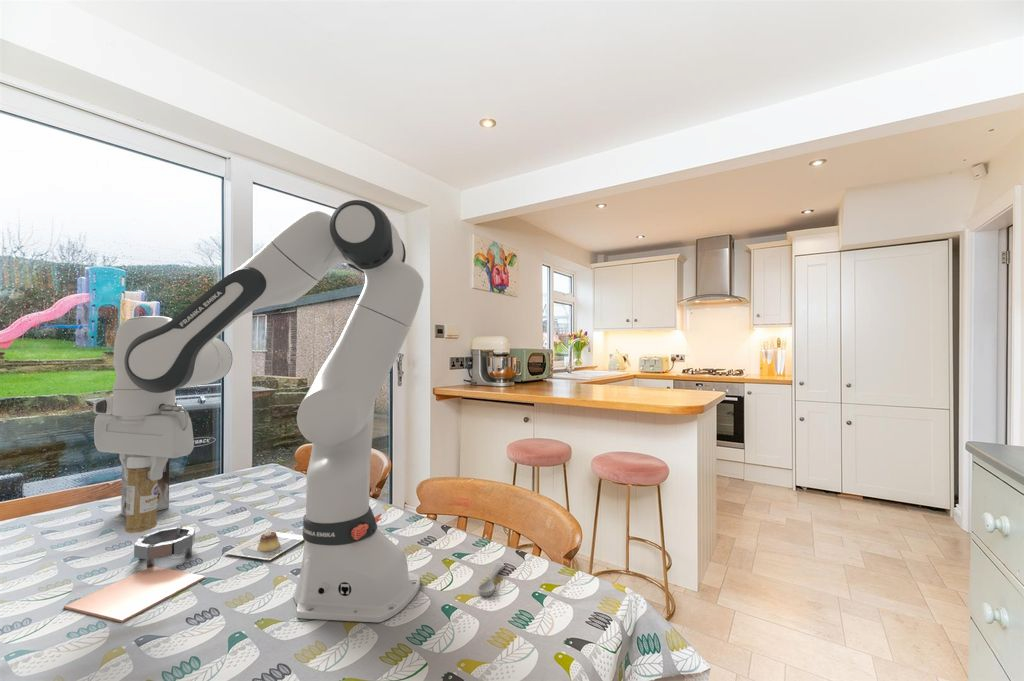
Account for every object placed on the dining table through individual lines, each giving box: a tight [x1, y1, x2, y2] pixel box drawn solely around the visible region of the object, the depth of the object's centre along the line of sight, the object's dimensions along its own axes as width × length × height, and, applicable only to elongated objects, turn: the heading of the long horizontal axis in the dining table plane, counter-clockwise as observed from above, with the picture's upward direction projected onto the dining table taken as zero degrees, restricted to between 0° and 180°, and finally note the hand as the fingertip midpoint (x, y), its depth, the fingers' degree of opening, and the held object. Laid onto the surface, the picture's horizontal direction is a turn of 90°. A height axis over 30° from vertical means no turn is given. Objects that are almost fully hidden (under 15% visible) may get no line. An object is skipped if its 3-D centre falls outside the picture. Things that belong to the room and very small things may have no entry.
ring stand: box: [133, 525, 196, 569], centre depth 90 cm, size 10×10×4 cm
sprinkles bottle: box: [124, 455, 158, 534], centre depth 78 cm, size 5×5×13 cm
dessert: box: [223, 528, 305, 561], centre depth 96 cm, size 12×12×5 cm
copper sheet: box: [63, 565, 206, 623], centre depth 77 cm, size 14×14×1 cm
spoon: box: [478, 563, 505, 598], centre depth 82 cm, size 3×12×2 cm, turn 167°
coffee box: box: [120, 458, 170, 518], centre depth 117 cm, size 9×6×16 cm
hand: (143, 478), depth 78 cm, fingers closed on sprinkles bottle, 4 cm apart
